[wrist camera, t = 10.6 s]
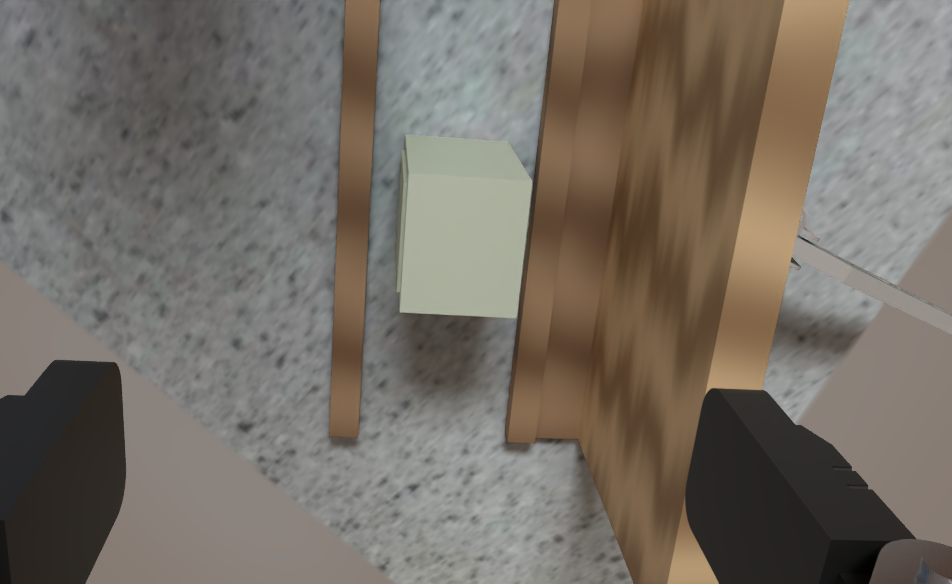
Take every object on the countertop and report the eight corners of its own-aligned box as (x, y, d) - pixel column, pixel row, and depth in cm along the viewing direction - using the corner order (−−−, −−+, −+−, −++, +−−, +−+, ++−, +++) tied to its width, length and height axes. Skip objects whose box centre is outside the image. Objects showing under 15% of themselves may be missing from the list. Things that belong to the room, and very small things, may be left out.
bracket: (734, 169, 43) (905, 269, 36) (924, 267, 56) (1076, 354, 49) (698, 226, 44) (858, 335, 37) (894, 309, 57) (1039, 401, 50)
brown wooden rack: (350, -99, 39) (327, -128, 24) (691, -64, 41) (865, -71, 26) (330, 425, 48) (304, 638, 33) (610, 435, 50) (705, 640, 35)
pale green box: (402, 134, 43) (405, 172, 36) (507, 141, 44) (532, 181, 36) (394, 252, 45) (395, 312, 38) (495, 258, 46) (516, 318, 38)
